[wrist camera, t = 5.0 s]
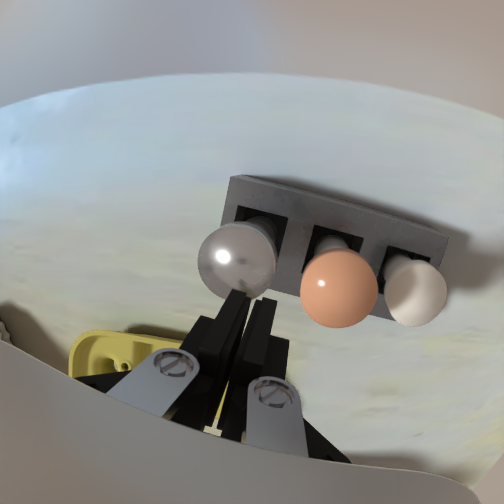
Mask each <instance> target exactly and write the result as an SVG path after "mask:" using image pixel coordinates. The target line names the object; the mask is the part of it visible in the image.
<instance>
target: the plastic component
mask: <svg viewBox="0 0 504 504" xmlns="http://www.w3.org/2000/svg"><path fill="white" fill-rule="evenodd" d="M182 343H183V341H181V340H175V339H169V338H163V337H157V336H152V335H146V334H133V333H128V332H121V331H109V330H92V331H88V332H85V333H83V334H82V335H80V336H79V337H78V338H77V339H76V340H75V342H74V344H73V345H72V348H71V351H70V355H69V376H70V377H72V378H76V377H80V376H89V375H97V374H105V373H113V372H117V370H116V369H115V367H114V361H115V362H116V364H117V366H118V372H120V371H127V370H133V369H134V368H136V367H137V366H138V365H139V364H140V363H141V362H142V361H143V360H145V359H146V358H147V357H148V356H149V355H150V354H151V353H153V352H155V351H156V350H159V349H162V348H176V349H179V347H180V346H181V344H182ZM228 382H229V381H228ZM227 386H228V384H227ZM226 390H227V387H226V389H225V392H224V395H223V397H222V400H221V403H220V406H219V408H218V411H217V414H216V416H215V419H219V417H220V413H221V409H222V405H223V401H224V397H225V393H226Z"/></svg>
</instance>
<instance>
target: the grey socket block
mask: <svg viewBox="0 0 504 504" xmlns="http://www.w3.org/2000/svg"><path fill="white" fill-rule="evenodd" d="M246 207H249V208H253V209H257V210H261V211H265V212H269V213H273V214H277V215H281V216H285V217H289V218H288V222H287V226H286V230H285V234H284V238H283V242H282V246H281V250H280V252H277V258H278V259H277V267H276V270H275V273H274V276H273V279H272V281H271V283H270V285H269V287H268V289H272V290H276V291H279V292H283V293H287V294H291V295H294V296H298V297H300V289H301V280H302V275H303V272H304V269H305V267H306V266H307V264H308V263H309V261H310V260H307V259H305V256H306V253H307V249H308V246H309V242H310V238H311V235H312V231H313V227H314V224H315V225H319V226H323V227H326V228H330V229H334V230H338V231H341V232H345V233H348V234H352V235H355V237H354V241H353V244H352V247H351V250H353V251H355V252H357V253H359V254H360V255H361V256H362V257H364V258H365V259H366V261H367V262H368V264H369V265H370V267H371V269H372V271H373V273H374V275H375V277H376V280H377V284H378V296H377V300H376V303H375V305H374V307H373V309H372V310H371V312H370V313H369V315H373V316H377V317H381V318H385V319H390V320H394V321H396V320H395V319H394V318H393V317H392V315H391V313H390V311H389V309H388V306H387V304H386V302H385V298H384V287H385V283H386V281H385V280H382V279H378V278H377V276H378V273H379V270H380V267H381V264H382V261H383V258H384V255H385V252H386V249H387V246H388V245H390V246H394V247H397V248H401V249H404V250H407V251H411V252H414V256H413V259H412V260H422V261H425V262H427V263H429V264H431V265H432V266H433V267H434V268H435V269H436V270H437V271H438V268H439V266H440V263H441V260H442V257H443V254H444V251H445V248H446V245H447V242H448V239H449V237H447V236H446V235H444V234H442V233H441V232H439V231H437V230H436V229H434V228H432V227H429V226H426V225H423V224H420V223H417V222H414V221H411V220H408V219H405V218H401V217H398V216H395V215H392V214H389V213H385V212H382V211H379V210H375V209H372V208H369V207H365V206H362V205H358V204H355V203H351V202H348V201H344V200H341V199H337V198H333V197H330V196H326V195H322V194H319V193H315V192H311V191H307V190H303V189H299V188H296V187H292V186H288V185H284V184H279V183H275V182H271V181H267V180H263V179H258V178H254V177H250V176H245V175H237V176H231V177H230V182H229V186H228V191H227V196H226V201H225V206H224V211H223V216H222V221H221V226H223V225H225V224H228V223H231V222H243V219H244V214H245V209H246ZM221 226H220V227H221Z"/></svg>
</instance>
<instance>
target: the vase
mask: <svg viewBox="0 0 504 504" xmlns="http://www.w3.org/2000/svg"><path fill="white" fill-rule="evenodd" d="M0 340H2V341H5V342H7V343H9V344H11V345H13V344H12V343H11V341H10V334H9V333H8V332H7V331H6V329H5V325H4V323H2V322H1V321H0Z"/></svg>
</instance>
